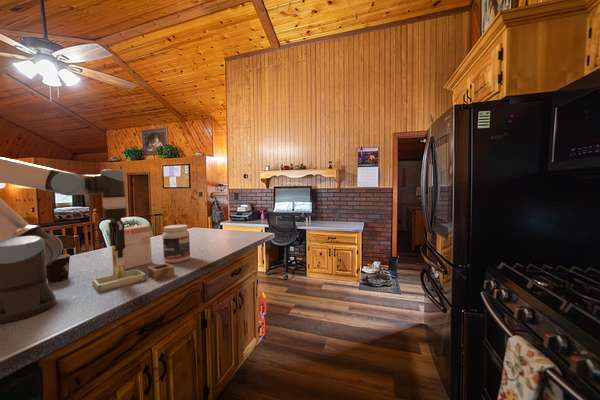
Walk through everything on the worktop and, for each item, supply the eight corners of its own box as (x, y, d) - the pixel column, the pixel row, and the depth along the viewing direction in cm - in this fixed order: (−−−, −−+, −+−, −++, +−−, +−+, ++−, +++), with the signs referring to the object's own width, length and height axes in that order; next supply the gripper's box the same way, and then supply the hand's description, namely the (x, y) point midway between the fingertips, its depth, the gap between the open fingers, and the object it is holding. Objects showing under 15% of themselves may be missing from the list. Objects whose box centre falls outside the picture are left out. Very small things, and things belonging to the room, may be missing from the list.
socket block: (154, 280, 105) (154, 271, 105) (148, 276, 110) (147, 267, 110) (174, 275, 111) (174, 266, 111) (167, 271, 116) (166, 262, 116)
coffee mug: (54, 284, 103) (52, 260, 103) (38, 283, 105) (36, 259, 105) (83, 274, 115) (82, 253, 114) (68, 273, 117) (67, 252, 116)
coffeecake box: (146, 260, 135) (144, 224, 134) (152, 262, 131) (150, 225, 130) (113, 268, 123) (110, 229, 122) (118, 271, 119) (116, 230, 118)
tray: (98, 292, 94) (98, 285, 94) (92, 285, 101) (92, 279, 101) (146, 279, 106) (145, 273, 106) (137, 274, 114) (137, 268, 113)
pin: (115, 279, 101) (112, 247, 100) (112, 276, 104) (110, 245, 103) (126, 276, 104) (124, 245, 103) (124, 274, 107) (122, 244, 106)
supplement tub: (158, 262, 131) (156, 227, 130) (178, 255, 143) (176, 223, 142) (176, 264, 126) (174, 228, 125) (195, 257, 138) (194, 224, 137)
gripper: (132, 207, 99) (135, 265, 101) (120, 206, 111) (123, 258, 112) (108, 209, 94) (113, 270, 95) (98, 207, 105) (102, 262, 106)
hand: (118, 264), depth 103 cm, fingers closed on pin, 4 cm apart
